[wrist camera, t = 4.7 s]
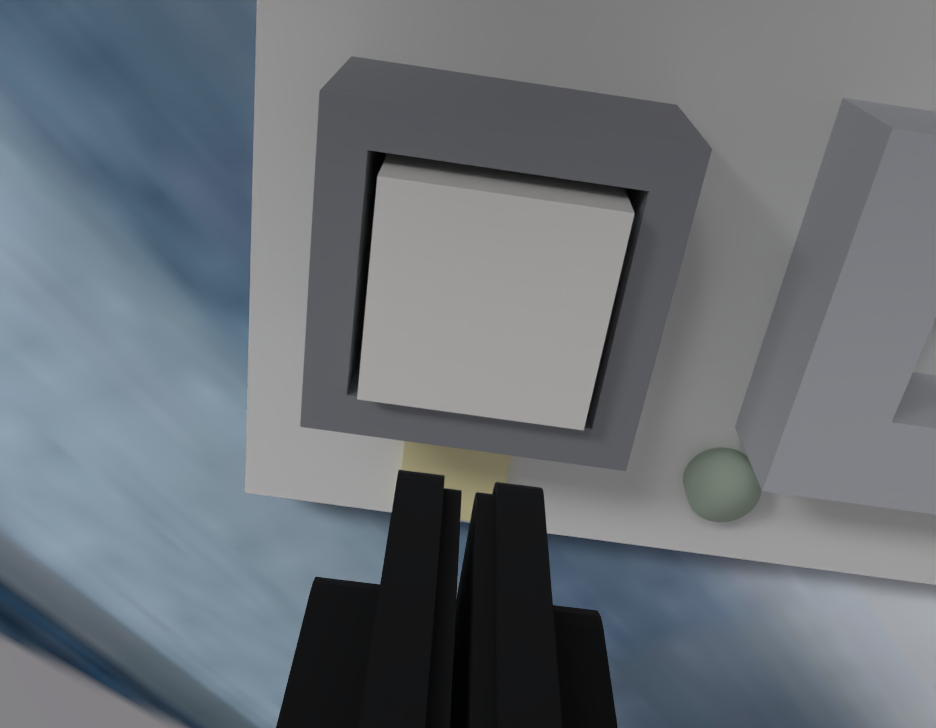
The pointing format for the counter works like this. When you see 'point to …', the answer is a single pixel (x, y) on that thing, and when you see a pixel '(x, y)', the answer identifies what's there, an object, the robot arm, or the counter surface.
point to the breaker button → (490, 290)
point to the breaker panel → (628, 262)
